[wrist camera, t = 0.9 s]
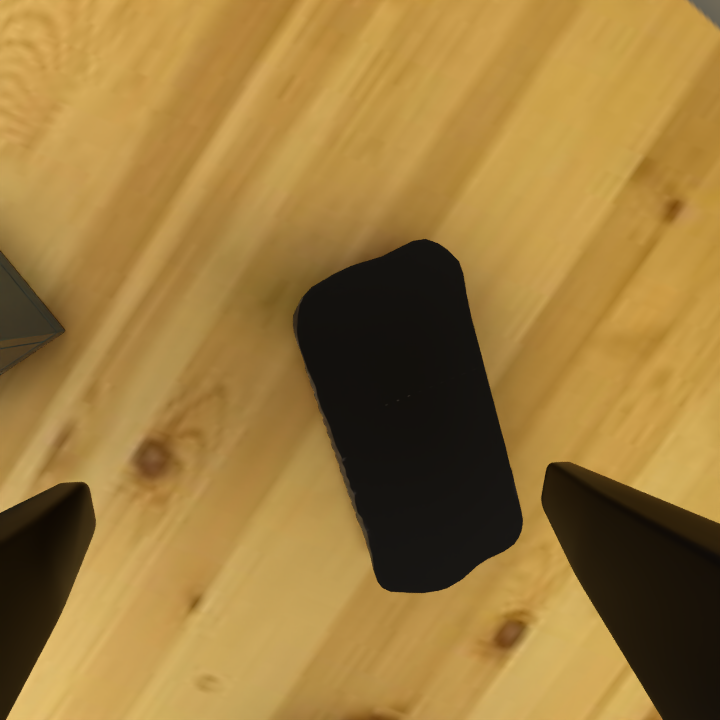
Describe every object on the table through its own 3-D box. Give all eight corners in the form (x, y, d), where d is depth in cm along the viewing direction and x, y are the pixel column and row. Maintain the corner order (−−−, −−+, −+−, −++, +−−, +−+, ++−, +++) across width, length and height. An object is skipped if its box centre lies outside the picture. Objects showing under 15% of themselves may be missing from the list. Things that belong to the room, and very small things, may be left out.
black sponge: (281, 291, 22) (277, 290, 19) (437, 243, 23) (462, 233, 19) (373, 568, 25) (384, 613, 21) (510, 518, 26) (543, 555, 22)
